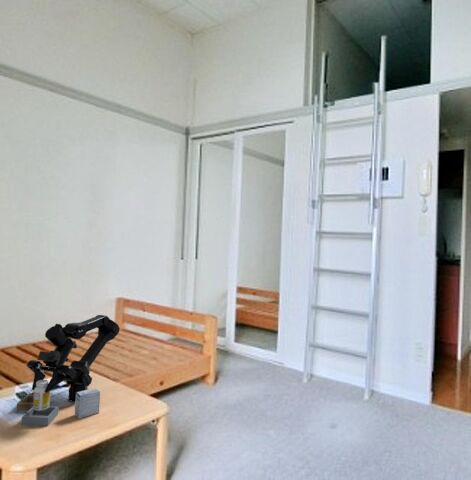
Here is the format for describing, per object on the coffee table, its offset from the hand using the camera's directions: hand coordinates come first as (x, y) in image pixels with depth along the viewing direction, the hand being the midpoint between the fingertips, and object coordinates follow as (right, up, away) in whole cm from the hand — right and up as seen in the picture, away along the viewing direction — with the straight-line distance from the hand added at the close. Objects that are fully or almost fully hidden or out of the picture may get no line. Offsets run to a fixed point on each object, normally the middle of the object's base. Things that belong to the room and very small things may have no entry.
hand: (39, 391), depth 148 cm
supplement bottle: (0, -7, +1) cm, 7 cm away
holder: (-8, -11, +12) cm, 18 cm away
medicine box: (+15, -12, +8) cm, 20 cm away
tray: (0, -11, +1) cm, 11 cm away
